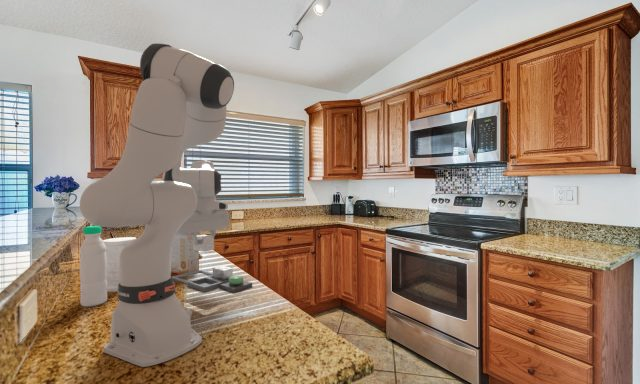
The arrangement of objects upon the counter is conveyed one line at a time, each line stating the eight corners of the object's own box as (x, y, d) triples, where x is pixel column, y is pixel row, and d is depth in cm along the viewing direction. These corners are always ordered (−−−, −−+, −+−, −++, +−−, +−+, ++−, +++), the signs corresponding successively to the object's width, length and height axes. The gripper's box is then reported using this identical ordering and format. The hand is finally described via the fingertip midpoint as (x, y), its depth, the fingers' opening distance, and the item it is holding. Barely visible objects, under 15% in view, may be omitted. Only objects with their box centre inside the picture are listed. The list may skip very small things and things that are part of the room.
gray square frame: (217, 279, 126) (217, 274, 126) (188, 287, 116) (188, 282, 116) (200, 274, 133) (200, 269, 133) (172, 281, 124) (172, 276, 124)
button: (246, 288, 112) (246, 276, 112) (234, 292, 108) (234, 280, 108) (237, 285, 115) (237, 274, 115) (226, 289, 111) (225, 277, 111)
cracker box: (200, 273, 134) (199, 225, 134) (187, 277, 129) (186, 227, 129) (180, 269, 142) (179, 223, 142) (168, 272, 137) (167, 225, 136)
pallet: (239, 284, 119) (239, 277, 119) (204, 295, 107) (204, 287, 107) (222, 279, 126) (222, 272, 126) (187, 289, 114) (187, 281, 114)
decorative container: (119, 281, 124) (118, 236, 124) (145, 282, 123) (144, 237, 122) (93, 291, 113) (92, 241, 113) (122, 292, 111) (121, 242, 111)
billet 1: (214, 249, 113) (213, 236, 113) (204, 251, 110) (203, 237, 110) (203, 247, 117) (202, 234, 117) (193, 249, 114) (193, 235, 114)
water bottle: (93, 308, 97) (91, 227, 96) (74, 306, 98) (72, 227, 98) (112, 300, 104) (111, 225, 103) (94, 298, 105) (93, 224, 105)
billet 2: (232, 281, 119) (232, 268, 119) (223, 283, 116) (223, 270, 116) (221, 278, 123) (221, 265, 123) (212, 280, 120) (212, 267, 120)
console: (252, 289, 113) (252, 282, 113) (233, 296, 106) (233, 288, 106) (238, 285, 118) (238, 279, 118) (220, 291, 111) (219, 284, 111)
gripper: (180, 207, 103) (181, 249, 103) (231, 204, 119) (232, 240, 119) (170, 206, 107) (171, 247, 107) (221, 204, 123) (222, 239, 123)
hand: (203, 243), depth 113 cm, fingers closed on billet 1, 4 cm apart
